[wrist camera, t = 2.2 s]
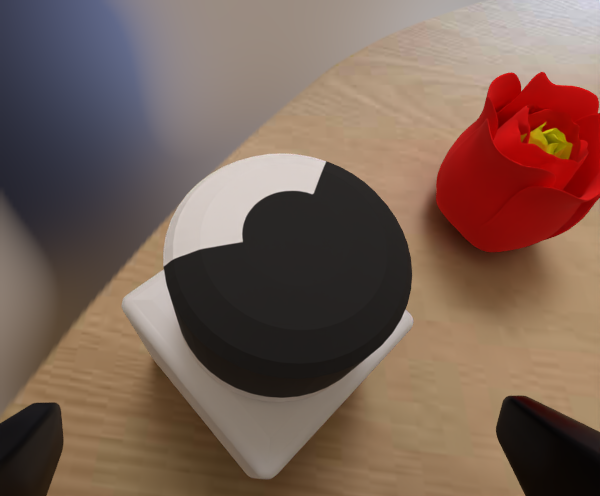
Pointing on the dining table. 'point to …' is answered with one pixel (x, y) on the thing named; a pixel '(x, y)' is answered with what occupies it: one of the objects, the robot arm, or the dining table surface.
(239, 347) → the medicine bottle
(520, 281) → the dining table surface
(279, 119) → the dining table surface
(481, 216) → the flower
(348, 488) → the dining table surface
